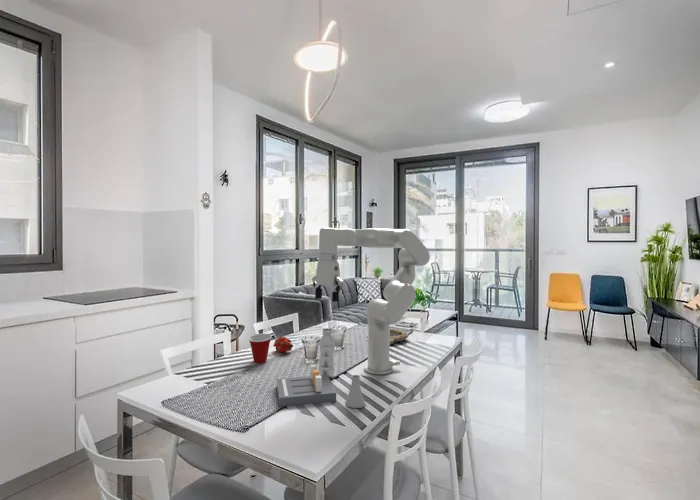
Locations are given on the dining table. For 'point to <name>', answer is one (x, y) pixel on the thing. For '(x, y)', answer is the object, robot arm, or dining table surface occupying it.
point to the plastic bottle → (326, 353)
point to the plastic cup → (260, 347)
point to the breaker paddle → (315, 373)
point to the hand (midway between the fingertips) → (326, 299)
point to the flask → (355, 394)
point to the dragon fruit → (283, 344)
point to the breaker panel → (305, 390)
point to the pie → (397, 336)
